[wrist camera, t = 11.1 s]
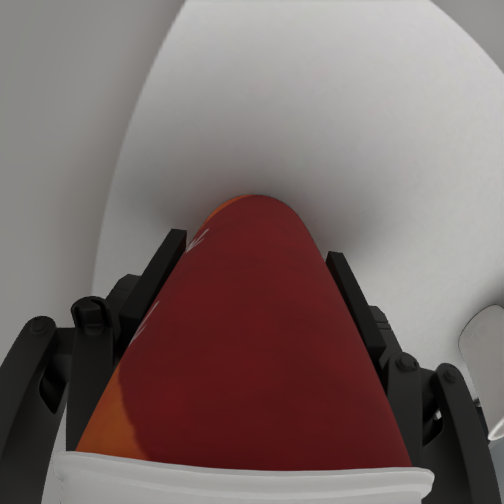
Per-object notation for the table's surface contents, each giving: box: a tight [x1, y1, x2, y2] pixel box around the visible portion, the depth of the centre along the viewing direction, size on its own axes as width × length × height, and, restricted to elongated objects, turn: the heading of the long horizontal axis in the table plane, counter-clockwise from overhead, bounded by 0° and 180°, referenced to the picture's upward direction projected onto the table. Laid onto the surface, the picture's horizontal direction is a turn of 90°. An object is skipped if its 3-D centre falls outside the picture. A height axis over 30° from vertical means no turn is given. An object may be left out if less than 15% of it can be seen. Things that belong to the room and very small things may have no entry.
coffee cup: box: [52, 195, 435, 504], centre depth 10 cm, size 8×8×15 cm
